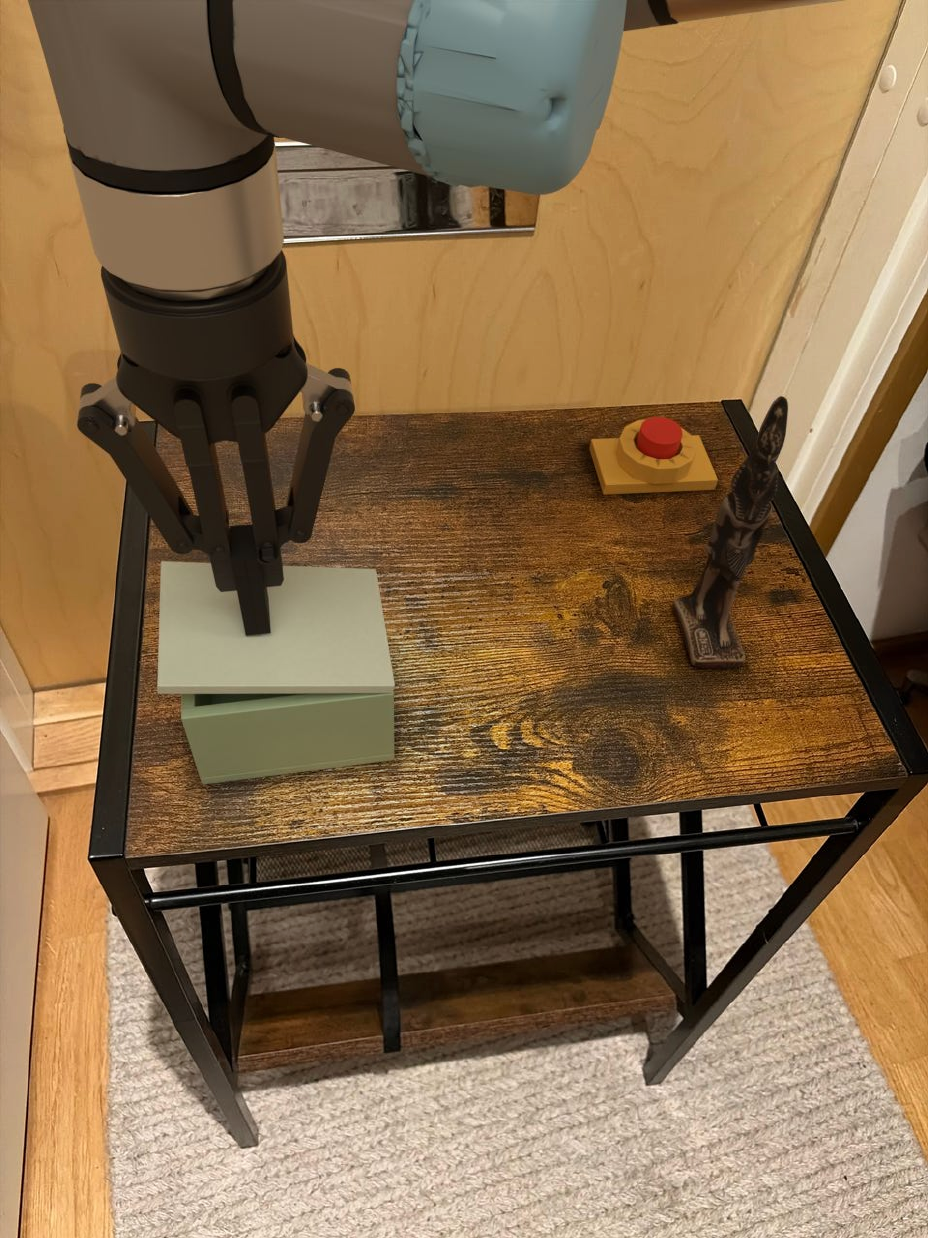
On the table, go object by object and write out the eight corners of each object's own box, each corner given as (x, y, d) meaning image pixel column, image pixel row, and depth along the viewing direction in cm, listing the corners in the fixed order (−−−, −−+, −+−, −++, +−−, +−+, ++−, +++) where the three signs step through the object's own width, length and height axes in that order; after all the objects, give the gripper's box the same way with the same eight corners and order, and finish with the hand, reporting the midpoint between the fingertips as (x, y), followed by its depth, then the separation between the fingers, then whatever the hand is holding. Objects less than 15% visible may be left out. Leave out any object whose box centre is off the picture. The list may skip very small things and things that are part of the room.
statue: (689, 675, 69) (773, 468, 54) (665, 602, 74) (736, 391, 58) (744, 672, 70) (842, 466, 54) (717, 599, 74) (801, 390, 59)
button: (672, 431, 83) (676, 415, 81) (682, 458, 80) (687, 443, 79) (632, 433, 82) (636, 417, 81) (642, 460, 80) (646, 444, 79)
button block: (695, 443, 86) (703, 416, 84) (715, 492, 82) (724, 465, 80) (588, 447, 85) (593, 420, 83) (603, 497, 81) (609, 470, 78)
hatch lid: (157, 694, 53) (157, 686, 52) (160, 569, 59) (160, 560, 58) (392, 693, 57) (395, 685, 57) (373, 576, 63) (376, 568, 62)
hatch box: (202, 785, 61) (180, 719, 55) (201, 667, 67) (181, 596, 61) (394, 760, 63) (394, 693, 57) (377, 648, 69) (375, 577, 63)
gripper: (342, 202, 42) (358, 561, 60) (34, 212, 40) (147, 581, 58) (361, 295, 37) (372, 654, 56) (14, 312, 35) (143, 679, 54)
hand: (257, 616), depth 57 cm, fingers closed
